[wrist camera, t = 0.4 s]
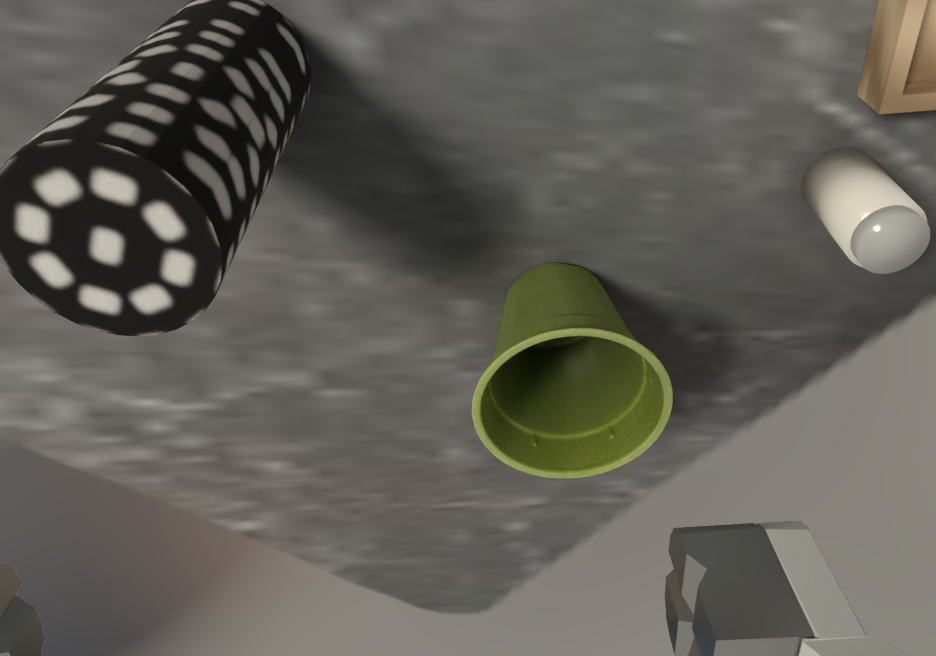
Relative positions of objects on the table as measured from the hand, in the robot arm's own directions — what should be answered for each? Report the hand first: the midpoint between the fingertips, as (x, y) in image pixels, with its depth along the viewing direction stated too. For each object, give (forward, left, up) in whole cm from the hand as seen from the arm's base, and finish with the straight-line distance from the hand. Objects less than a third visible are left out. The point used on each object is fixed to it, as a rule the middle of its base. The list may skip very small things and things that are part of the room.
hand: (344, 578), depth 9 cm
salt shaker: (+15, +24, -38) cm, 48 cm away
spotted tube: (+5, -12, -39) cm, 41 cm away
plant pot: (+23, +6, -39) cm, 45 cm away
